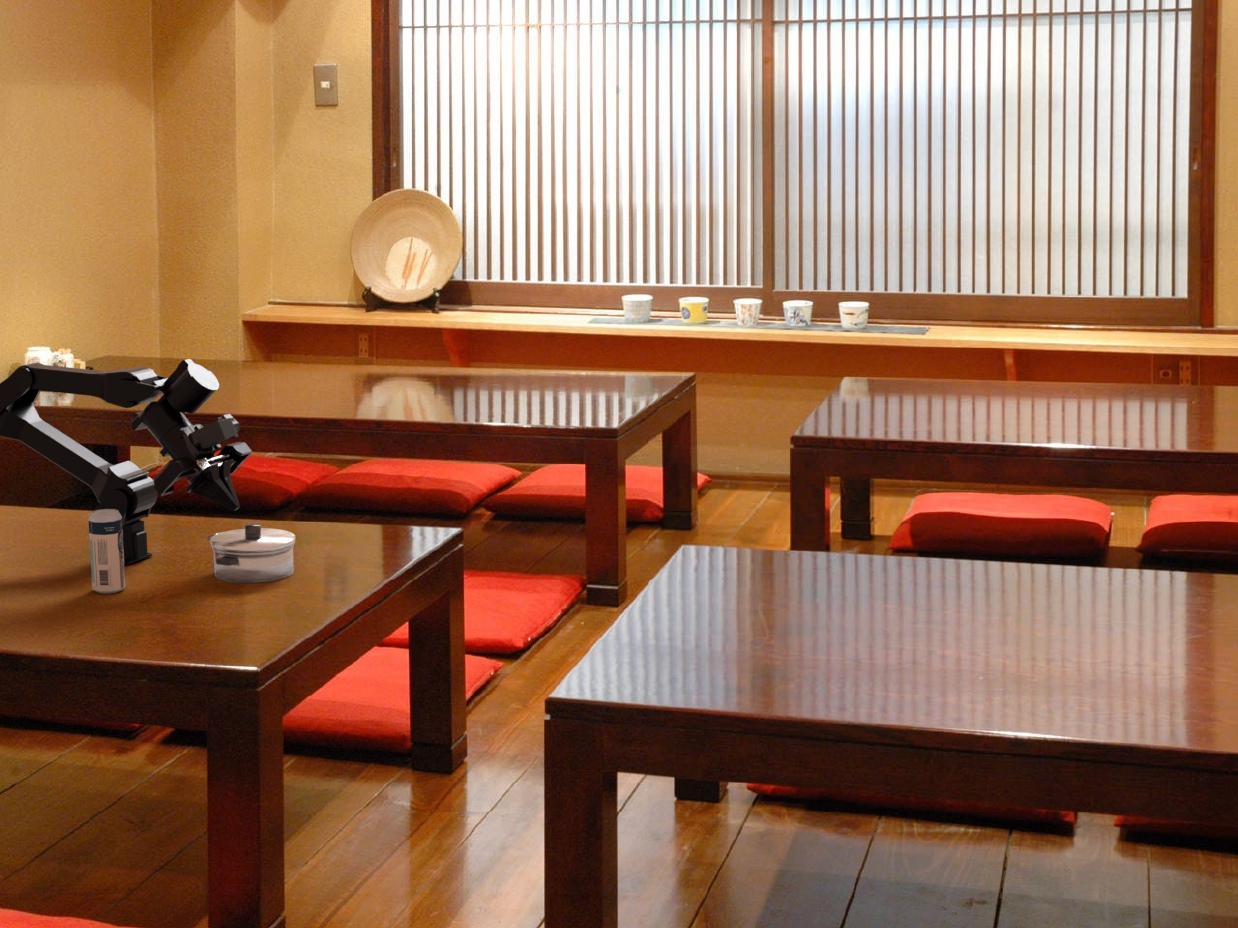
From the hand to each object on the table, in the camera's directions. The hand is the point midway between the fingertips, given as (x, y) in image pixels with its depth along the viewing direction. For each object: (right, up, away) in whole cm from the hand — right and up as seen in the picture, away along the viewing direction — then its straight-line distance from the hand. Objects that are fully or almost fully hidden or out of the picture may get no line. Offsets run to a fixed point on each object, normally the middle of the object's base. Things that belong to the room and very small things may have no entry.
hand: (237, 508), depth 246 cm
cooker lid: (+2, -5, 0) cm, 6 cm away
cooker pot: (+3, -10, +1) cm, 10 cm away
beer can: (-17, -12, -10) cm, 23 cm away
